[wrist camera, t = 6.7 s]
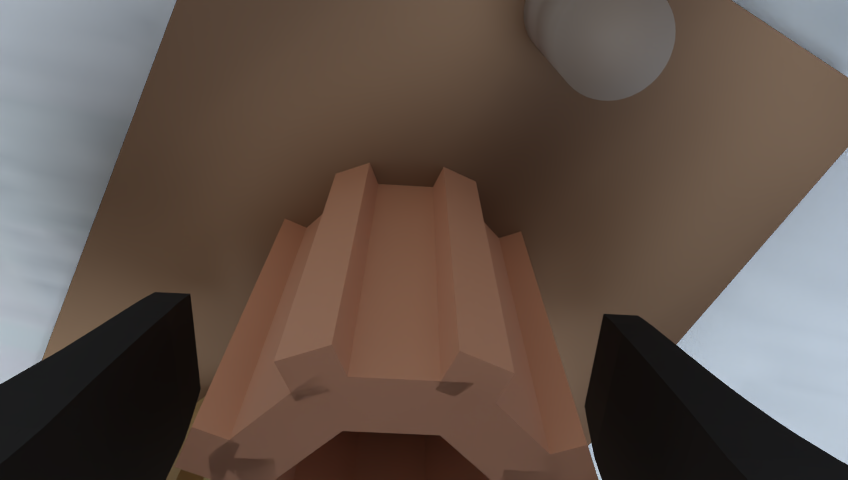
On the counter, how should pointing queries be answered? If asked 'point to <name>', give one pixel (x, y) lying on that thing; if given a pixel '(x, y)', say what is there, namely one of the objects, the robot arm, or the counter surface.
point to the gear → (392, 351)
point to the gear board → (465, 150)
